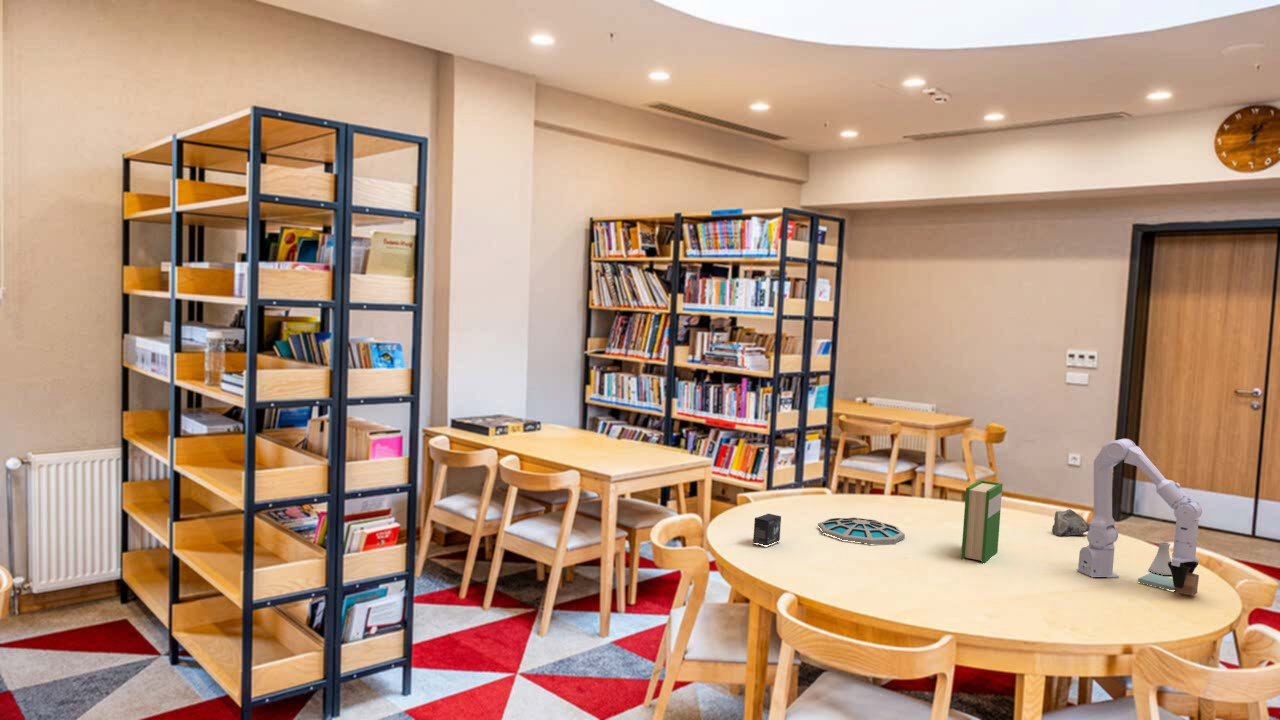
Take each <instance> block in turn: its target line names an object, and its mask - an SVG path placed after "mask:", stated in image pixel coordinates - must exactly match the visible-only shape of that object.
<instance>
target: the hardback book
mask: <svg viewBox="0 0 1280 720" xmlns="http://www.w3.org/2000/svg"><path fill="white" fill-rule="evenodd" d="M1002 495H1003V482H1002V483H1001V482H994V481H988V480H978V481H976V482H974V483H972V484H971V485H969V486H967V487H966V488H965V497H964V498H965V500H964V516H963V527H962V528H963V529H962V540H961V541H962V542H961V544H962V545H961V556H960V557H961V558H960V559H961V560H963V559H964V560H966V559H972V560H978V561H981V564H983V563H984V564H986V563H987V562H988V561H989V560H990V558H991V557H992V556H993V557H994V556H995V555H996V554H997V553H999V552H998V551H999V549H998V547H999V536H1000V525H1001V524H1000V523H1001V521H1000V520H1001V509H1002V497H1003V496H1002ZM993 557H992V558H993ZM992 558H991V559H992Z"/></svg>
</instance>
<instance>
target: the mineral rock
mask: <svg viewBox="0 0 1280 720" xmlns="http://www.w3.org/2000/svg"><path fill="white" fill-rule="evenodd" d="M1053 518H1054V519H1053V521H1054V523H1053V525H1052V528H1051V532H1052V533H1053V534H1054V536H1057V537H1058V536H1061V537H1062V536H1063V537H1064V536H1065V537H1068V536H1079V535H1082V534H1084V533H1088V531H1089V530H1090V523H1089V522H1088V521H1087V522H1086V520H1085V519H1084V518H1083V516H1081V515H1080V514H1079V513H1076V512H1075V511H1074V510H1072V509H1071V508H1068V509H1066V510H1064V511H1061V510H1060V511H1059V510H1058V511H1055V513H1054V517H1053Z"/></svg>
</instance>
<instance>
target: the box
mask: <svg viewBox="0 0 1280 720" xmlns="http://www.w3.org/2000/svg"><path fill="white" fill-rule="evenodd" d="M781 524H782V515H777V514H772V513H766V514H764V515H760V516H757V517H754V523H753V525H754V526H753V540H752V541H753V542H752V544H753V543H759V544H763V545H769V544H772V543H774V542H777V541H779V540H781V526H782V525H781Z"/></svg>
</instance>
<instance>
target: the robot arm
mask: <svg viewBox="0 0 1280 720" xmlns="http://www.w3.org/2000/svg"><path fill="white" fill-rule="evenodd" d="M1122 461H1123V463H1124V464H1128V465H1132V466H1136V467H1137V468H1138V469H1139V470H1140V471H1141V472H1142V473H1143V474H1144V475H1145V476H1146V477H1147V478H1148V480H1150V482H1152V483H1153V484H1154V485H1155V488H1156V489H1155V491H1156V493H1157V494H1158V495H1159V497H1160V498H1162V499H1163V501H1164V502H1165V503H1166V504H1167V505H1168V506H1169V507H1170V508H1171V509H1172V510H1173V515H1174V517H1175V518H1176V522H1175V526H1174V527H1175V528H1174V539H1173V547H1172V548H1173V550H1172V553H1171V562H1168V566H1169V568H1170V570H1171V573H1172V576H1171V578H1173V584H1174V587H1178V588H1183V585H1184V582H1185V578H1186V575H1187V573H1188V572H1189V573H1193V574H1194V571H1195V570H1196V568H1197V567H1198V566H1199V562H1200V561H1201V558H1200V557H1199V558H1198V557H1196V555H1197V554H1196V553H1197V544H1198V535H1199V522H1200V521H1199V518H1200V517H1201V516H1202V513H1203V509H1202V507H1201V505H1200V503H1199V502H1198V501H1196V500H1193V498H1192V497H1191V496H1188V495H1187V494H1186V492H1184V490H1183V489H1181V484H1180V483H1179V482H1175V481H1174V480H1171V479H1167V478H1166V477H1165V476H1164V475H1163V474H1162V473H1161V471H1160V470H1159V469H1158V468H1157V467H1156V466H1155V465H1154V463H1153V462H1152V461H1151V460H1150V459H1149V458H1148V456H1147V455H1146V454H1145V453H1144V451H1143V450H1142V448H1140V446H1138V445H1136V443H1135V442H1134V441H1133V440H1131V439H1129V438H1121V439H1117V440H1116V439H1115V440H1111V441H1109V442H1107V443H1106V444H1104V445H1102V446H1101V450H1100V451H1099V453H1098V454H1097V456H1096V457H1095V459H1094V460H1093V517H1092V519H1091V520H1090V523H1089V524H1090V530H1089V531H1088V532H1086V540H1087V541H1088V544H1087V546H1084V547H1082V548H1081V549H1080V550H1079V554H1078V556H1079V557H1078V568H1076V569H1075V570H1076V571H1077V570H1078V571H1077V572H1080V573H1082V574H1084V575H1086V576H1088V575H1089V576H1088V577H1090V576H1091V577H1090V578H1093V577H1107V578H1119V577H1120V576H1119V574H1116V573H1114V560H1115V547H1116V546H1115V544H1114V543H1116V541H1118V538H1119V532H1118V530H1117V527H1116V522H1115V519H1114V518H1113V468H1114V467H1116V466H1117V465H1118V464H1120V462H1122Z"/></svg>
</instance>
